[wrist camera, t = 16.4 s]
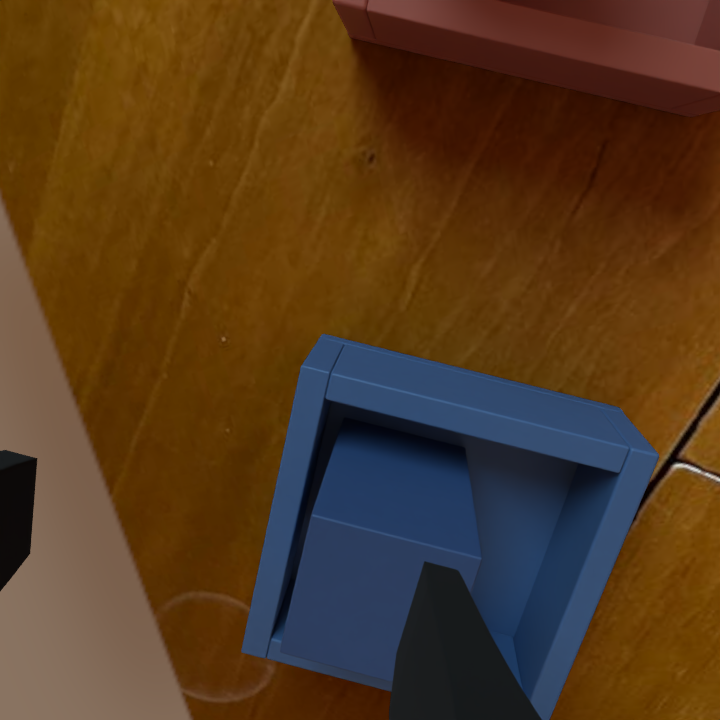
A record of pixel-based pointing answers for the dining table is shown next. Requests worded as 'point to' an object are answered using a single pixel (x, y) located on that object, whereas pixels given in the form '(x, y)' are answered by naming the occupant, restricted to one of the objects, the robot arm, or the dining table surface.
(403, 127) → the dining table surface
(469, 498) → the blue block
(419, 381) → the blue bin
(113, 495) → the dining table surface
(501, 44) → the red bin
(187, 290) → the dining table surface
